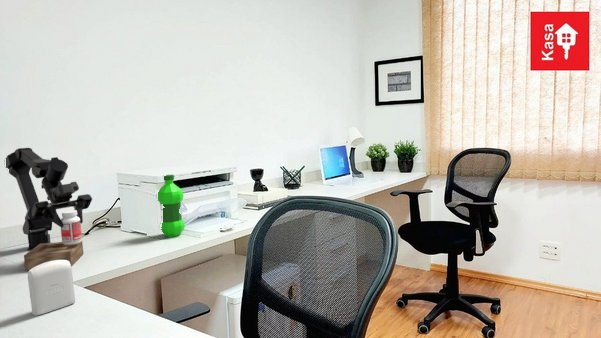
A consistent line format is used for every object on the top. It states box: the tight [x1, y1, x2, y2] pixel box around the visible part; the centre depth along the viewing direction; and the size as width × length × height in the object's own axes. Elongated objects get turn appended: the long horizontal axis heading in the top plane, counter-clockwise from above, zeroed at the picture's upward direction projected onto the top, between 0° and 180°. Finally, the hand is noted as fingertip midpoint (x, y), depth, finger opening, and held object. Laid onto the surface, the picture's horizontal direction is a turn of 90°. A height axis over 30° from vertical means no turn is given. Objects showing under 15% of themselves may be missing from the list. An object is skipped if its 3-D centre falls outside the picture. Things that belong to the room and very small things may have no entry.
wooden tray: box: [23, 240, 85, 271], centre depth 153 cm, size 14×14×5 cm
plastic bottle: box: [157, 174, 186, 238], centre depth 182 cm, size 10×10×25 cm
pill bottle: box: [60, 209, 83, 245], centre depth 153 cm, size 6×6×11 cm
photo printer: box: [27, 260, 76, 316], centre depth 114 cm, size 10×4×12 cm, turn 140°
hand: (72, 224), depth 152 cm, fingers closed on pill bottle, 6 cm apart
